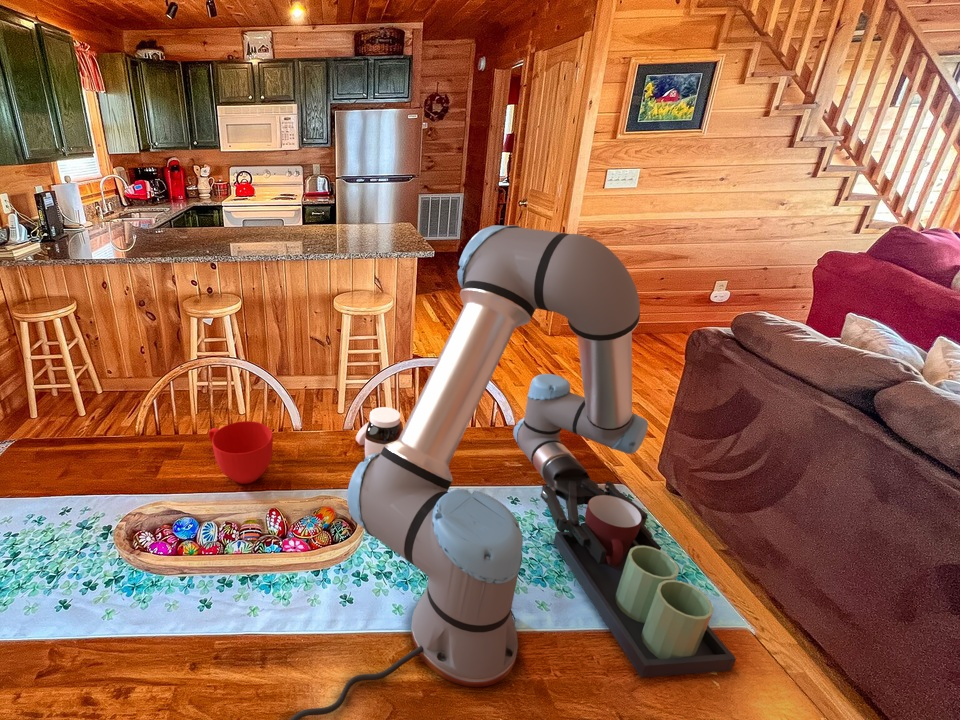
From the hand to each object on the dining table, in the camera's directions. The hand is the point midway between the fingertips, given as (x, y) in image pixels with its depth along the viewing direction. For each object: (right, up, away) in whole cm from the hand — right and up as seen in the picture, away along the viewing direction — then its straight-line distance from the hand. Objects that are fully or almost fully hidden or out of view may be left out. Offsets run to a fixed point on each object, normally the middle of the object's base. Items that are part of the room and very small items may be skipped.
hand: (629, 555), depth 82 cm
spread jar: (-36, +9, +38) cm, 53 cm away
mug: (0, -4, +7) cm, 8 cm away
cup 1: (0, -8, -1) cm, 8 cm away
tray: (0, -7, 0) cm, 7 cm away
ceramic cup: (-68, +6, +33) cm, 76 cm away
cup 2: (+1, -10, -7) cm, 13 cm away
